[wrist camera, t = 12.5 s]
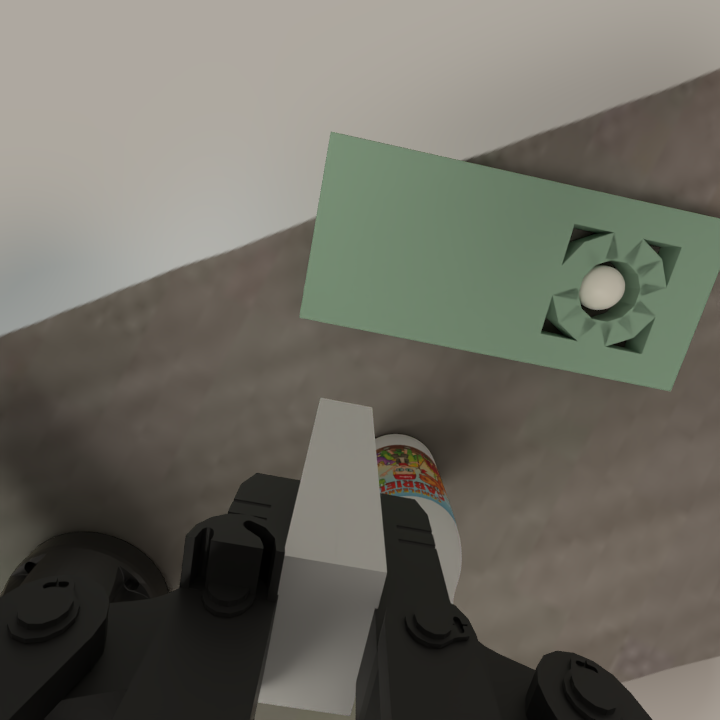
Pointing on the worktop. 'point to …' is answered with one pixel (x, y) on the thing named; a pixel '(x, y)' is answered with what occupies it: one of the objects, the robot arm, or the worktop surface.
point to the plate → (504, 263)
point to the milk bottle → (421, 495)
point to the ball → (601, 288)
